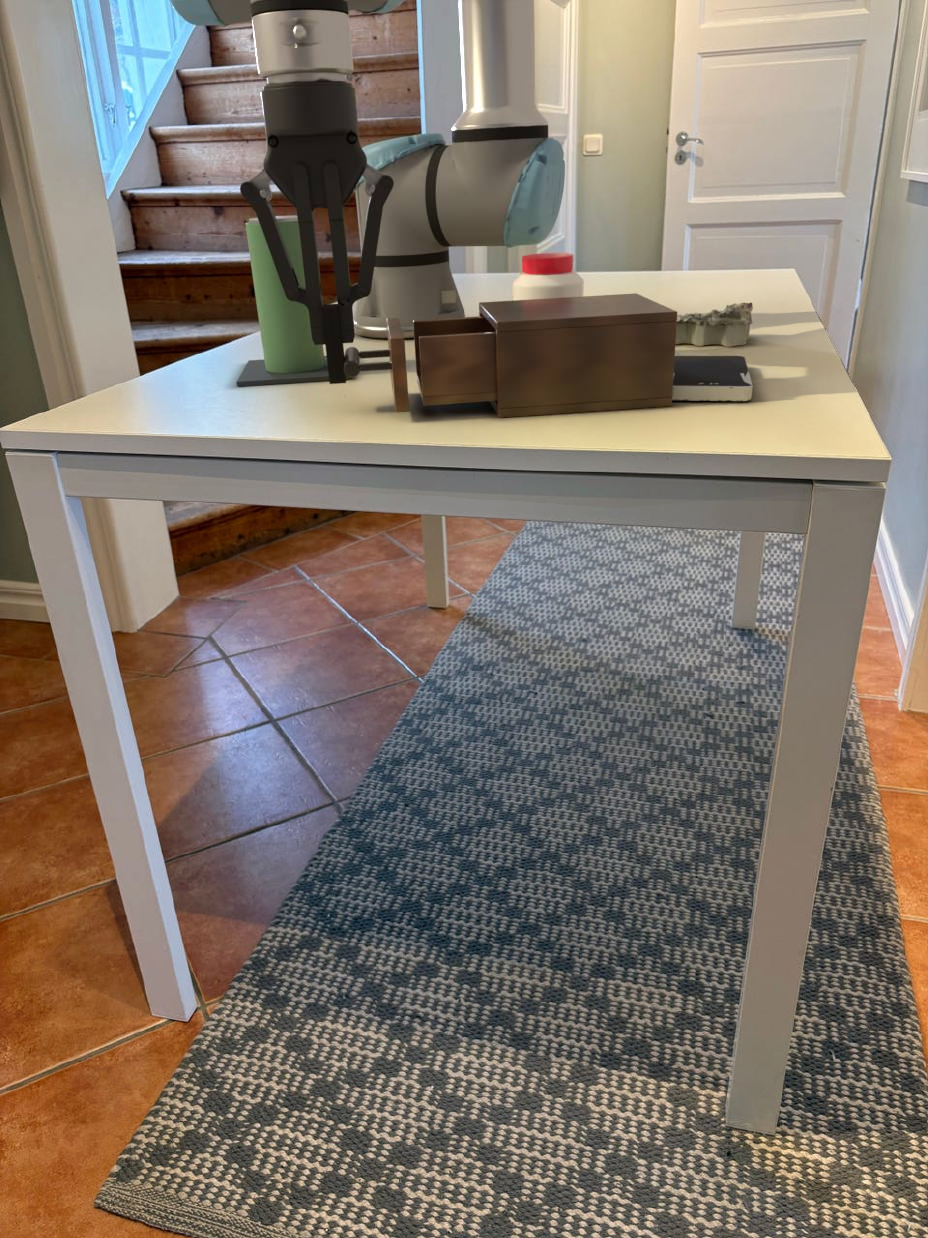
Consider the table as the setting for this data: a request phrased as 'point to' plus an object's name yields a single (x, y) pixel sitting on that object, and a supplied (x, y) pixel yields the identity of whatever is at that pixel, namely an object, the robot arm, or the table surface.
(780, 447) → the table surface
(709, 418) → the table surface
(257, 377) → the mat
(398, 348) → the drawer
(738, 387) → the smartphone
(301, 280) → the can
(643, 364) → the cabinet
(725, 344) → the egg carton
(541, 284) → the pill bottle
